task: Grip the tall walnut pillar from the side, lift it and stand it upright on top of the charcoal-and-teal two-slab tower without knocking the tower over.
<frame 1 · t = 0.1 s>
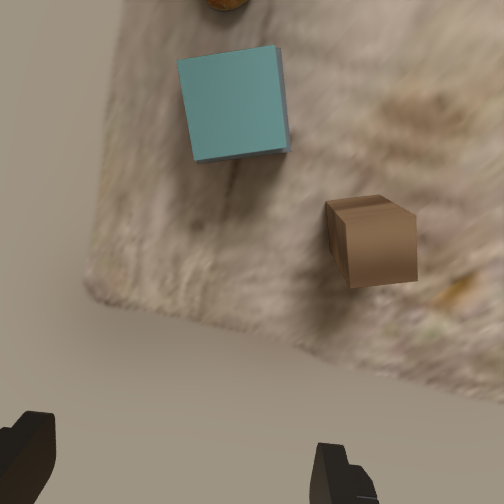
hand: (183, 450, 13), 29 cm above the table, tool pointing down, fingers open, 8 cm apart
walnut pillar: (354, 223, 40), on the table
tower top slab: (236, 107, 34), point 4 cm above the table, touching tower base slab
tower base slab: (239, 110, 38), on the table, touching tower top slab
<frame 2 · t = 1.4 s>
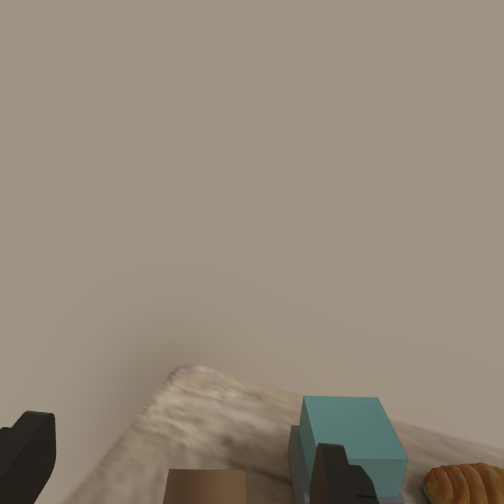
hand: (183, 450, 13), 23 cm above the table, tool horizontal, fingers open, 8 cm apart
tower top slab: (344, 460, 37), point 4 cm above the table, touching tower base slab
tower base slab: (336, 493, 38), on the table, touching tower top slab
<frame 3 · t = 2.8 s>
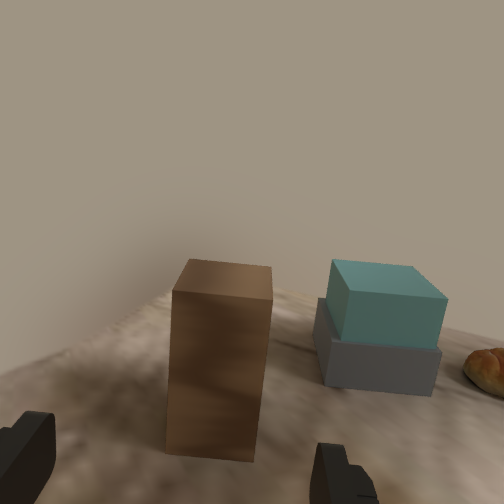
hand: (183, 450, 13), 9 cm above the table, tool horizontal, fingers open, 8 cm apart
walnut pillar: (214, 427, 26), on the table
tower top slab: (375, 323, 34), point 4 cm above the table, touching tower base slab
tower base slab: (364, 365, 35), on the table, touching tower top slab
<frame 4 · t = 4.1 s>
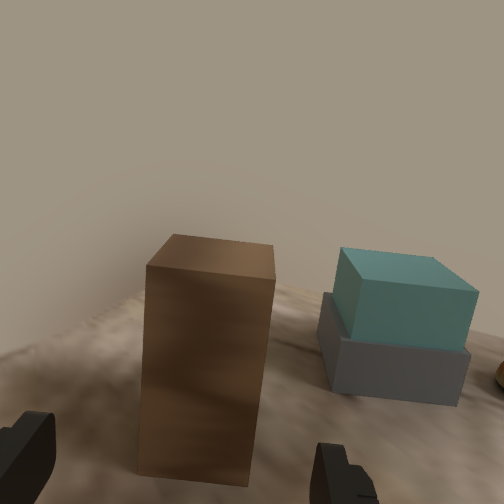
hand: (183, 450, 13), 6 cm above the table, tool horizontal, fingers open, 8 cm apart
walnut pillar: (200, 441, 21), on the table
tower top slab: (390, 320, 29), point 4 cm above the table, touching tower base slab
tower base slab: (377, 369, 31), on the table, touching tower top slab
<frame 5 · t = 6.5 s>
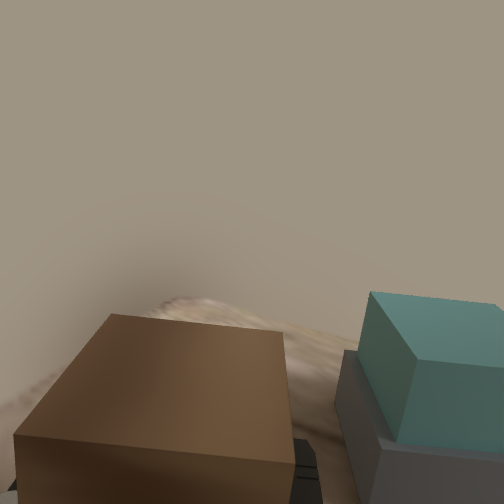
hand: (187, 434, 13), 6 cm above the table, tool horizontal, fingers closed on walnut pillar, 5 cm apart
tower top slab: (442, 399, 21), point 4 cm above the table, touching tower base slab
tower base slab: (421, 463, 22), on the table, touching tower top slab
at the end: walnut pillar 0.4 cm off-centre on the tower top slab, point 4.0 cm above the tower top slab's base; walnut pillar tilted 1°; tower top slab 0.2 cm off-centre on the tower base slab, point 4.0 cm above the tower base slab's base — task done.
